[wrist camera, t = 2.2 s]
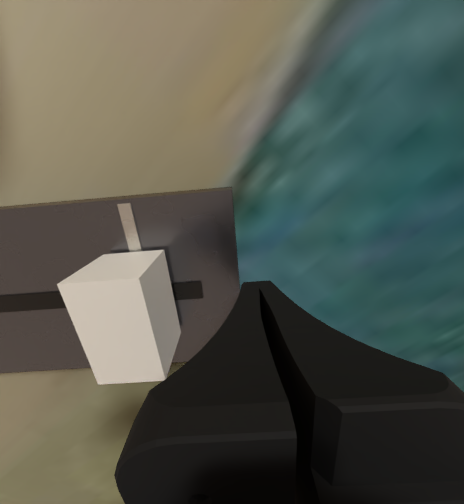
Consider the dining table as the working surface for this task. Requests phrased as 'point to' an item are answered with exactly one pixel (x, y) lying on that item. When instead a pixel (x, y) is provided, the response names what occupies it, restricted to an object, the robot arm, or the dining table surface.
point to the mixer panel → (109, 242)
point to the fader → (124, 316)
